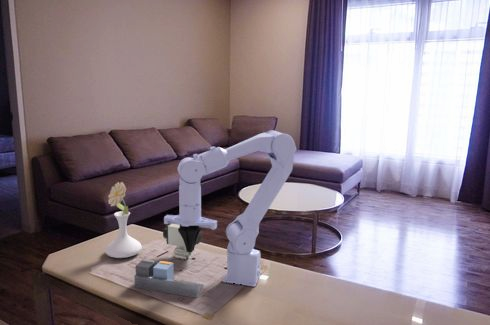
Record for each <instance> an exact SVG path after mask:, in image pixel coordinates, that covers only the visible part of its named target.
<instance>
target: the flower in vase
mask: <svg viewBox="0 0 490 325" xmlns="http://www.w3.org/2000/svg"><path fill="white" fill-rule="evenodd" d="M126 191H127V187H126V185H125V184H124V182H123V181H121V182H119V181H118V182H116V183H115V184H114V185H113V186H111V190H110V192H109V194H108V200H107V201H108V204H109V205H110V207H115V206H116V208H118V209H119V210H121V211H116V212H114V213H113V215H114V216H113V217H115V218H116V220H117V223H118V228H119V230H118V232H119V233H118V236H117V237H116V238H115V239H113V240H112V241H111V242H110V243H109V244H108V245H107V246H106V248H105V251H104V252H105V254H106V255H107V256H108V257H109V258H110V257H111V258H115V259H123V258H129V257H133V256H135V255H137V254H139V253H140V252H141V250H142V248H143V246H142V244H141V242H140V241H139V240H138V239H135V238H133V237H132V236H130V235H129V234H128V230H127V224H128V219H129V216H130V214H131V212H130V211H129V206H128V205H126V201H125V200H124V198H125V196H126ZM121 202H123V204H121Z"/></svg>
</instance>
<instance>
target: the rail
mask: <svg viewBox="0 0 490 325" xmlns="http://www.w3.org/2000/svg"><path fill="white" fill-rule="evenodd" d="M155 265H157V260H152V259H146V258H145V259H142V260H141V261H140V262H138V263H137V264H136V265H135V274H134V288H135V289H141V290H148V291H154V292H160V293H165V294H172V295H176V296H177V295H178V296H183V297H184V296H185V297H191V298H198V297H199V296H200V294H201V292H202V291H203V290H202V289H204V288H205V286H204V284H203V283H197V282H190V281H189V282H188V281H185V280H183V281H182V280H175V279H174V280H169V279H163V278H156V277H153V267H154V266H155ZM203 287H204V288H203ZM201 290H202V291H201Z"/></svg>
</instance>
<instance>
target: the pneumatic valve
mask: <svg viewBox="0 0 490 325" xmlns="http://www.w3.org/2000/svg"><path fill="white" fill-rule="evenodd" d="M178 228H180V225H178V224H170V223H169V224H166V225H165V227H164V228H163V231H162V236H163V238H164V239H166V240H165V241H166V245H170V246H175V248H174V250H173V254H174V255H175V256H174V257H175V258H176V259H179V258H181V260H184V259H185V260H187V258H190V257H192V252H187V250H186V246H185V243H184V240H183V238H182V236H181V235H180V233H179V232H178ZM202 238H203V234H202V231H201V230H200V232H199V234H198V237H197V239H196V243H195V246H196V245H199V244H200V243H201V241H202ZM186 257H187V258H186Z"/></svg>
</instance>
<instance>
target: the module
mask: <svg viewBox="0 0 490 325" xmlns="http://www.w3.org/2000/svg"><path fill="white" fill-rule="evenodd" d="M174 268H175V267H174V262H172V261H171V262H170V261H166V260H165V261H164V260H159V262H157V263H156V265H155V266H154V267H153V277H156V278H163V279H169V280H175V278H174V277H175V276H174V275H175V274H174V272H175V271H174V270H175V269H174Z"/></svg>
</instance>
